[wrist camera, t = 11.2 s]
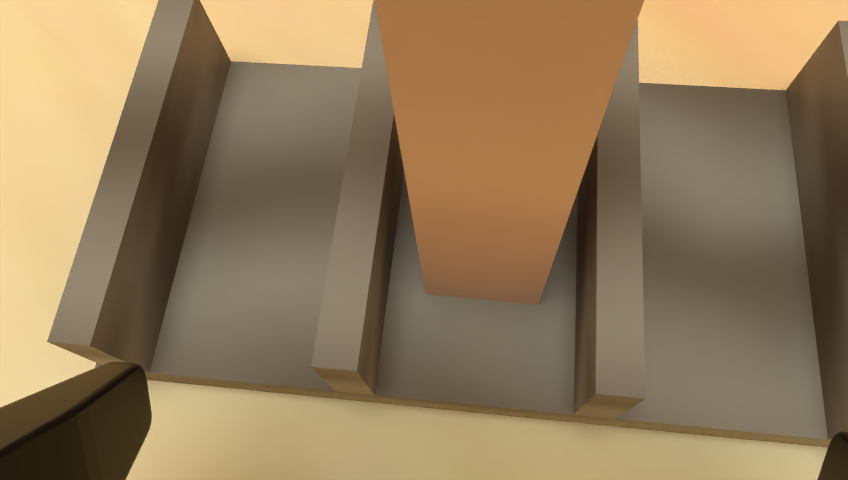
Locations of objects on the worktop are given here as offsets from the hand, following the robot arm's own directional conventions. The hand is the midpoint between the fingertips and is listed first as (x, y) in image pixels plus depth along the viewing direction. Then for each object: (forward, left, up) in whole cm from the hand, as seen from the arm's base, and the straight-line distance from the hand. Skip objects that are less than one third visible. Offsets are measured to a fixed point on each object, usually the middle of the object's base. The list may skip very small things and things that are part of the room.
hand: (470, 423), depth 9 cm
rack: (+5, -4, -9) cm, 11 cm away
